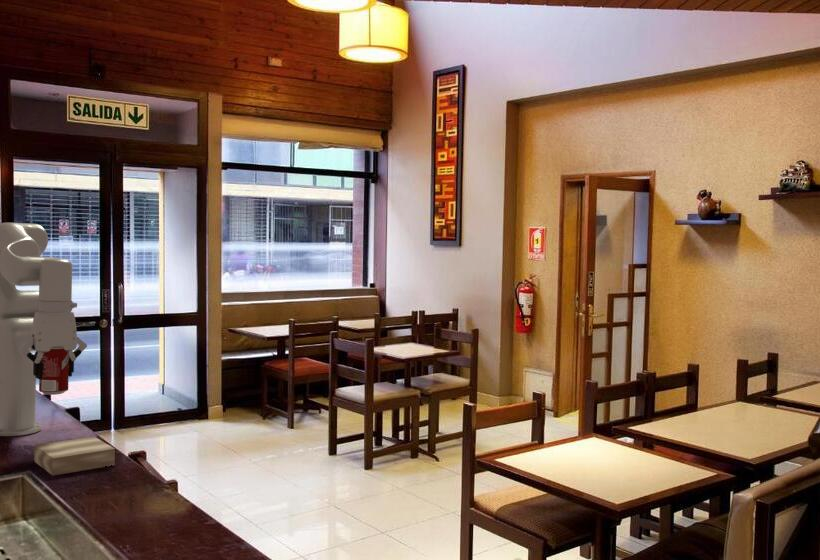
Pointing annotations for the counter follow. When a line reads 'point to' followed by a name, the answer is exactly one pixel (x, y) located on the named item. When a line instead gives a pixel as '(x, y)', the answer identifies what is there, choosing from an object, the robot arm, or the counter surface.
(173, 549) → the counter surface
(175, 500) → the counter surface
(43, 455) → the birch block
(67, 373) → the soda can
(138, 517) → the counter surface
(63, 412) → the counter surface
